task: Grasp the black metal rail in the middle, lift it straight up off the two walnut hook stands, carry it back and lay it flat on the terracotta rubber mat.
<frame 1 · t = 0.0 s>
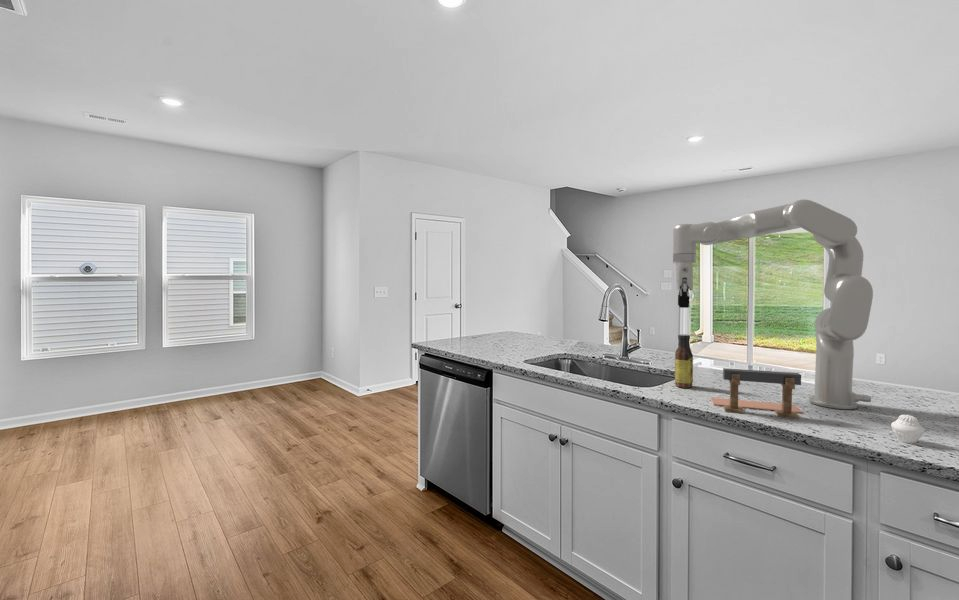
hand: (683, 306, 160), 31 cm above the counter, tool pointing down, fingers open, 9 cm apart
rail: (760, 381, 136), point 10 cm above the counter, touching hook stands
muffin: (906, 442, 113), on the counter
mat: (754, 405, 144), on the counter
sauce bottle: (683, 387, 169), on the counter
hook stands: (759, 413, 136), on the counter
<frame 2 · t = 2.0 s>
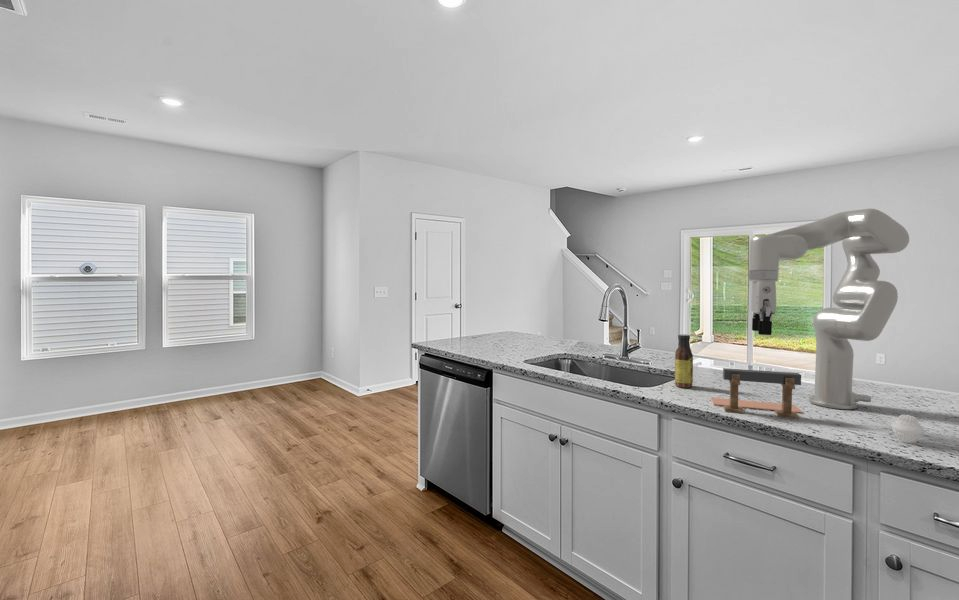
hand: (761, 332, 135), 25 cm above the counter, tool pointing down, fingers open, 9 cm apart
nothing on the counter moved.
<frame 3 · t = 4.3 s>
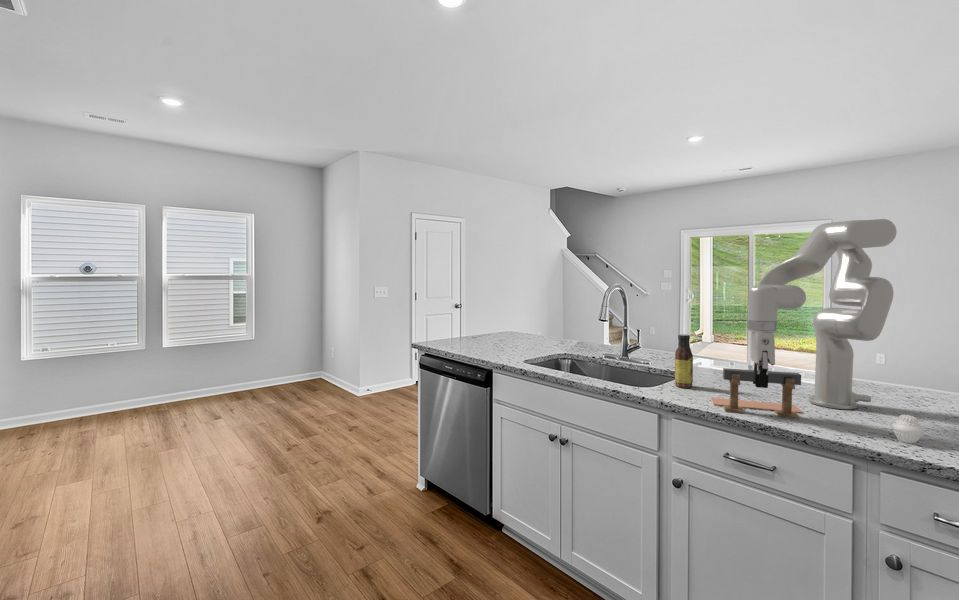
hand: (760, 385, 136), 9 cm above the counter, tool pointing down, fingers closed on rail, 3 cm apart
rail: (760, 381, 136), point 10 cm above the counter, touching gripper, hook stands
everything else where it was.
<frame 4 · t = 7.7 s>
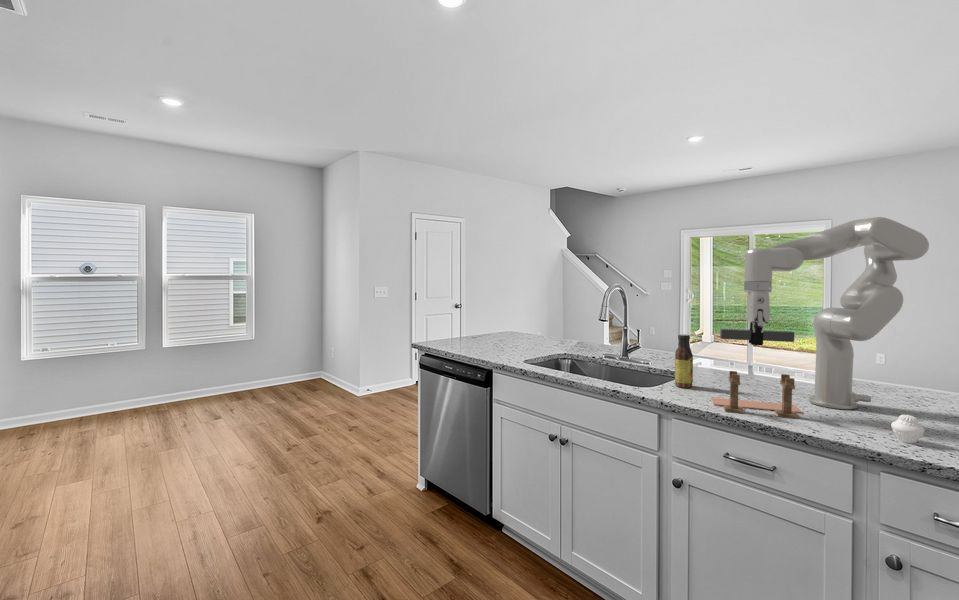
hand: (755, 343, 142), 20 cm above the counter, tool pointing down, fingers closed on rail, 3 cm apart
rail: (755, 339, 142), point 22 cm above the counter, touching gripper
everything else where it was.
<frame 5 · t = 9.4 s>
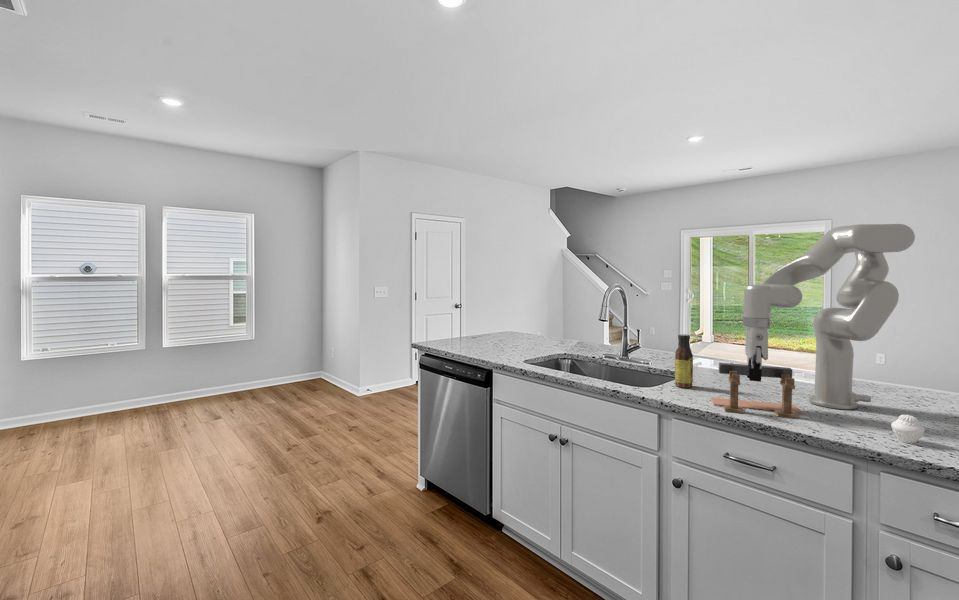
hand: (753, 379, 143), 9 cm above the counter, tool pointing down, fingers closed on rail, 3 cm apart
rail: (754, 375, 143), point 10 cm above the counter, touching gripper
everything else where it was.
when the fingers open (2 cm above the counter, at t = 11.1 s): rail drops 2 cm, resting on mat.
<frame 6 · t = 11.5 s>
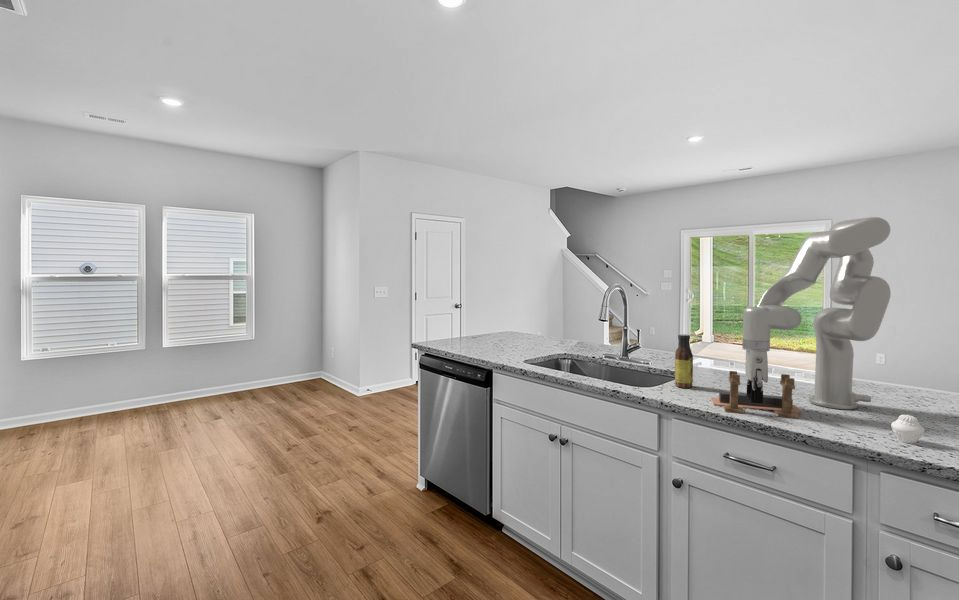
hand: (754, 399, 144), 2 cm above the counter, tool pointing down, fingers open, 6 cm apart
rail: (754, 404, 144), resting on mat
everything else where it was.
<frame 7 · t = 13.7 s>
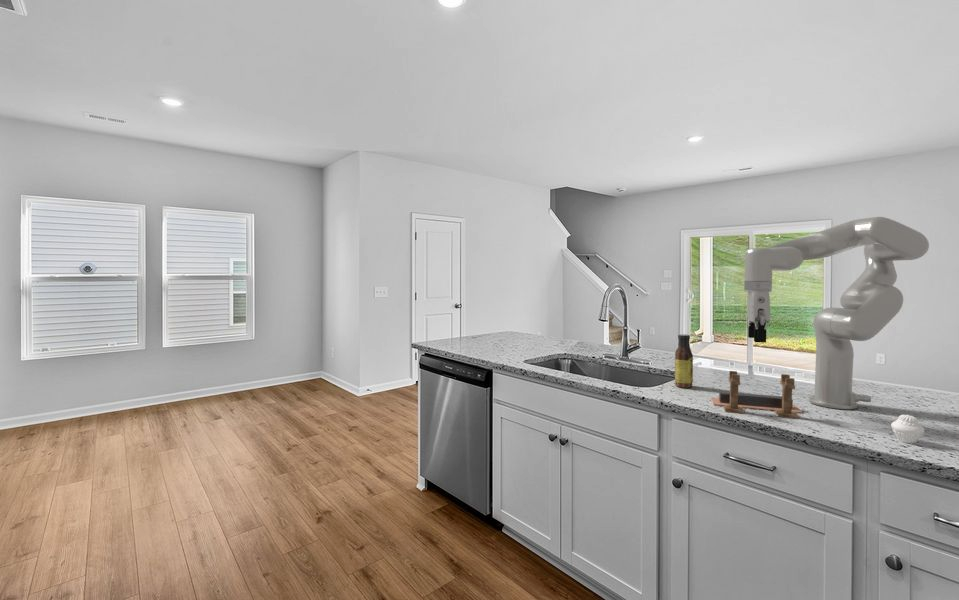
hand: (756, 339, 142), 22 cm above the counter, tool pointing down, fingers open, 9 cm apart
nothing on the counter moved.
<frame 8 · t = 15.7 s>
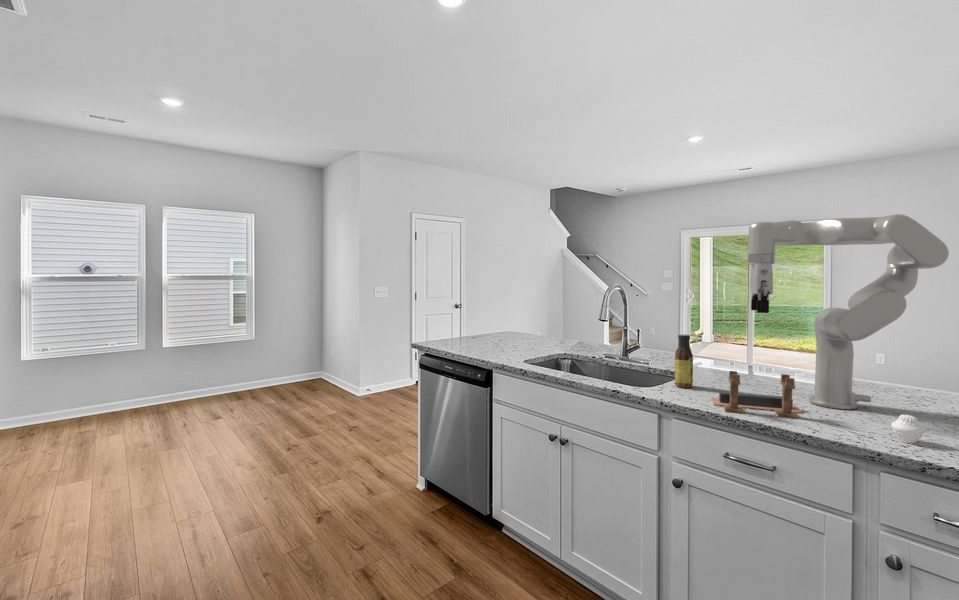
hand: (759, 311, 148), 30 cm above the counter, tool pointing down, fingers open, 9 cm apart
nothing on the counter moved.
at the end: rail 0.1 cm off-centre on the mat, point 0.5 cm above the mat's base; rail tilted 0°; the gripper is holding nothing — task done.
